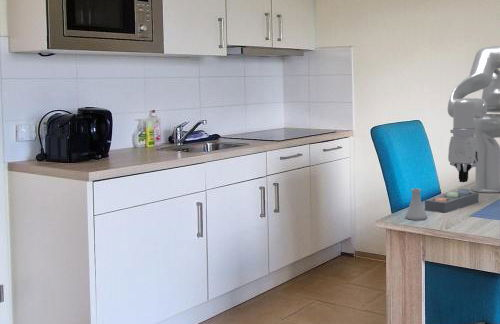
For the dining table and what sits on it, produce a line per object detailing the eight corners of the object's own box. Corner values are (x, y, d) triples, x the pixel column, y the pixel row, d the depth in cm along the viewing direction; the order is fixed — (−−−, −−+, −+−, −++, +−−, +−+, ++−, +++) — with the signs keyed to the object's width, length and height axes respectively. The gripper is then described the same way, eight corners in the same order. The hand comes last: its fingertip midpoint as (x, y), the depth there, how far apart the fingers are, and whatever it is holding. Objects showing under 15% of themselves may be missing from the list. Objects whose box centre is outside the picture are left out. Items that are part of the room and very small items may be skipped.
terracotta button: (438, 205, 225) (438, 197, 225) (448, 206, 222) (448, 198, 222) (432, 207, 223) (432, 198, 222) (442, 208, 220) (442, 200, 219)
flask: (428, 220, 206) (428, 191, 205) (405, 220, 208) (405, 191, 207) (426, 216, 213) (426, 187, 212) (404, 215, 215) (404, 187, 214)
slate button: (461, 196, 236) (461, 188, 236) (471, 197, 233) (471, 189, 233) (455, 197, 233) (455, 189, 233) (465, 198, 230) (465, 190, 230)
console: (459, 199, 239) (459, 190, 238) (478, 202, 233) (478, 193, 233) (424, 209, 223) (424, 200, 223) (444, 212, 217) (444, 203, 217)
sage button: (450, 199, 231) (450, 191, 230) (460, 200, 228) (460, 192, 227) (444, 200, 228) (444, 192, 228) (454, 202, 225) (454, 194, 225)
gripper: (440, 133, 233) (440, 181, 235) (477, 134, 222) (477, 184, 224) (450, 131, 238) (450, 178, 240) (487, 133, 227) (487, 182, 229)
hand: (463, 181), depth 232 cm, fingers closed
